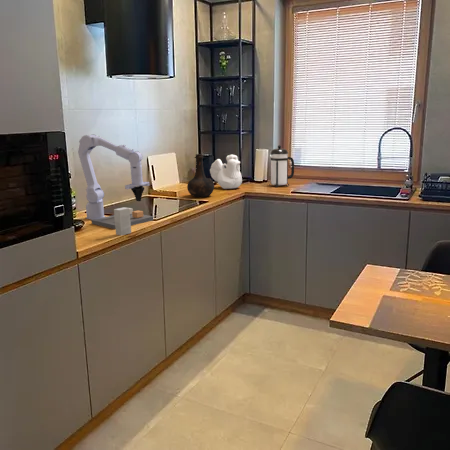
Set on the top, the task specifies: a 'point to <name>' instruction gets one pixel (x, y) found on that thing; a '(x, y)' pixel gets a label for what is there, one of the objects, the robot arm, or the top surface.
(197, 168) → the dark brown vase
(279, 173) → the coffee press
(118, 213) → the skincare box
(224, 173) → the decorative rooster
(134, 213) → the block
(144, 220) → the dark grey slab
